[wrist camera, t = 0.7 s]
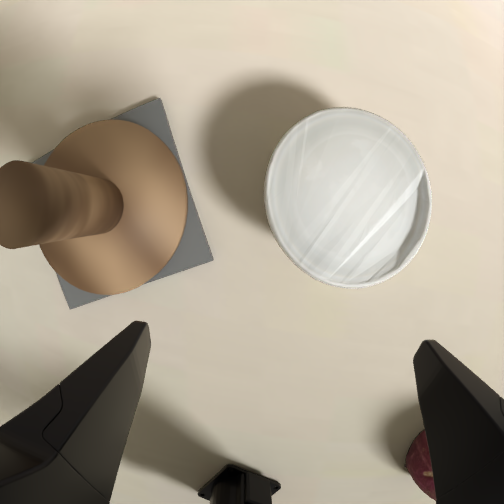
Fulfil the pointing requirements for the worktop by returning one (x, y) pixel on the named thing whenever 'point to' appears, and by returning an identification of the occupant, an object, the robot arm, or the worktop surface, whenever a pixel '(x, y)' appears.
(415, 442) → the vegetable
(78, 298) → the rubber mat
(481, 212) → the worktop surface
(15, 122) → the worktop surface
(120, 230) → the walnut lid
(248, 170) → the worktop surface
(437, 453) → the robot arm
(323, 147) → the ramekin
